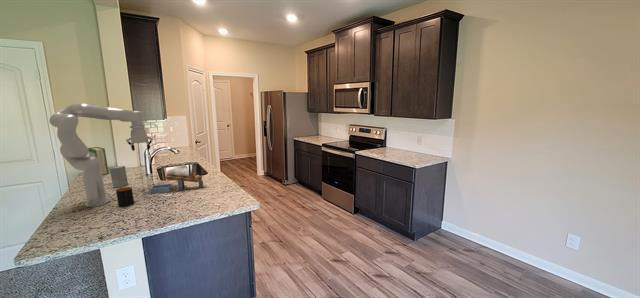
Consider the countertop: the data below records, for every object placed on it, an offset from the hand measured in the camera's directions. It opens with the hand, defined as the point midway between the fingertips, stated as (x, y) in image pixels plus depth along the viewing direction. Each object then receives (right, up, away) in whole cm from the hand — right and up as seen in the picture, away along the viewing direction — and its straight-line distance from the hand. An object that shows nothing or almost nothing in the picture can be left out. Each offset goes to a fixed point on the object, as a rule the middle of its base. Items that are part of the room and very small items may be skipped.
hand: (141, 150), depth 204 cm
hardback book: (-68, -22, +46) cm, 85 cm away
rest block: (+44, -28, +2) cm, 53 cm away
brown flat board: (+32, -21, +3) cm, 38 cm away
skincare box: (-22, -29, +8) cm, 37 cm away
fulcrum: (+31, -29, -1) cm, 43 cm away
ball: (+42, -21, +1) cm, 47 cm away
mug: (+11, -35, -31) cm, 48 cm away
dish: (+18, -30, -5) cm, 36 cm away
